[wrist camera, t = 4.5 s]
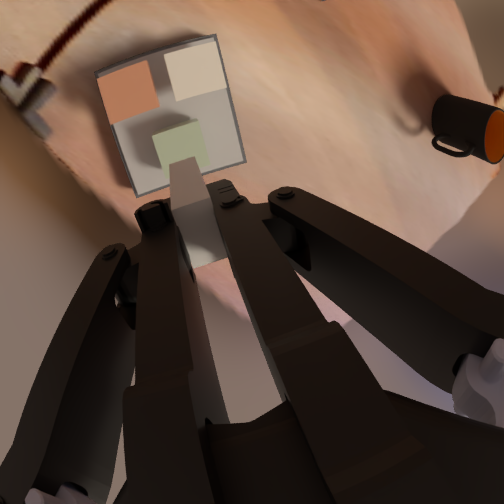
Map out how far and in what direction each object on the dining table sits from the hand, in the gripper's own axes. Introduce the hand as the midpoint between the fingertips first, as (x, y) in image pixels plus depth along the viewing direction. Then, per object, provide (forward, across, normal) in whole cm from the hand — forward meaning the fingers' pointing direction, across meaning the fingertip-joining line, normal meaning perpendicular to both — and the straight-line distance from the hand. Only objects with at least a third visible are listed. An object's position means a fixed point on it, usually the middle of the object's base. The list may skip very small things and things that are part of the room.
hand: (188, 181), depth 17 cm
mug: (+16, +38, -5) cm, 42 cm away
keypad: (+16, 0, +3) cm, 16 cm away
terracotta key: (+11, -3, +6) cm, 13 cm away
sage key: (+12, 0, 0) cm, 12 cm away
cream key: (+11, +3, +6) cm, 13 cm away
